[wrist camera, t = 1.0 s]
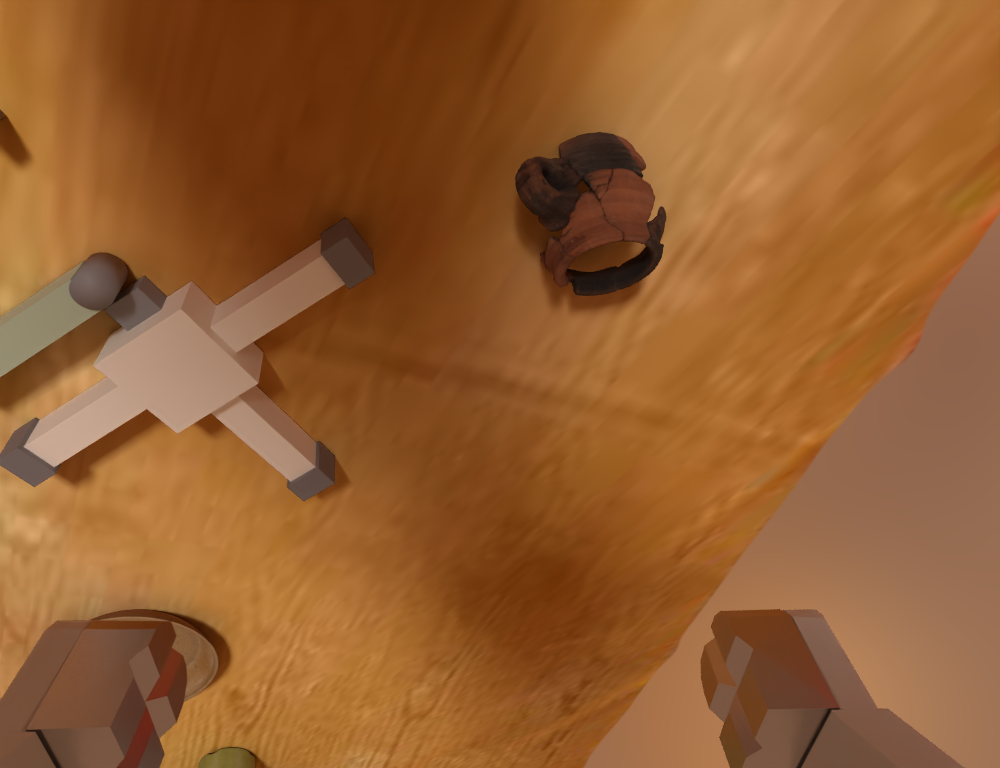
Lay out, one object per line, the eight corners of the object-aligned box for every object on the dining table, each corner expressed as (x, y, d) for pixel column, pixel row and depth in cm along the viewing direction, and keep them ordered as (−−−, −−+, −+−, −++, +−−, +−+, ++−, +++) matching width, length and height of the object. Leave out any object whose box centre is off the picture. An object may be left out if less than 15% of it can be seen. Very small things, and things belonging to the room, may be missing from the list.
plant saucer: (117, 571, 57) (109, 596, 55) (254, 632, 65) (251, 655, 63) (14, 656, 60) (3, 682, 58) (157, 704, 68) (151, 728, 66)
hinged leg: (105, 245, 41) (90, 266, 38) (136, 274, 42) (123, 296, 40) (-57, 355, 43) (-82, 383, 40) (-23, 380, 44) (-45, 408, 41)
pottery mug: (671, 150, 46) (705, 245, 43) (580, 228, 52) (604, 316, 49) (544, 81, 39) (574, 190, 35) (457, 182, 45) (475, 281, 42)
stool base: (-37, 396, 45) (-66, 432, 42) (308, 167, 41) (305, 187, 38) (182, 545, 56) (173, 582, 53) (466, 377, 53) (475, 406, 49)
